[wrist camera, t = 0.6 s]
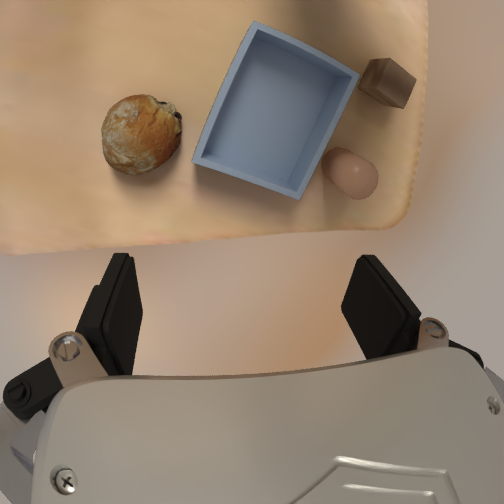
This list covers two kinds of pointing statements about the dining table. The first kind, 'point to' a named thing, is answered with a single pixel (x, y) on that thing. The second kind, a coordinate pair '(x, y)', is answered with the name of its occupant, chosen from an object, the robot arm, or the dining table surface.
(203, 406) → the robot arm
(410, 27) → the dining table surface
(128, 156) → the bread roll
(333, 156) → the terracotta cylinder
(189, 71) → the dining table surface
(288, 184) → the tote
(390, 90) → the walnut cube
